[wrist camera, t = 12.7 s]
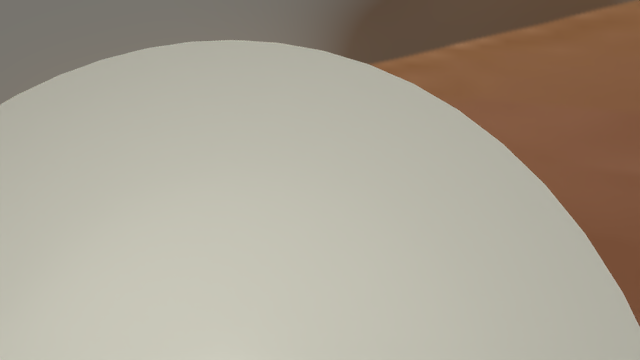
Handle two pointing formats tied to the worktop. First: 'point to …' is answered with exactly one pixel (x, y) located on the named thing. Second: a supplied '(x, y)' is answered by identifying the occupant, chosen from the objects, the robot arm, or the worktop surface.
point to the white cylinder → (281, 220)
